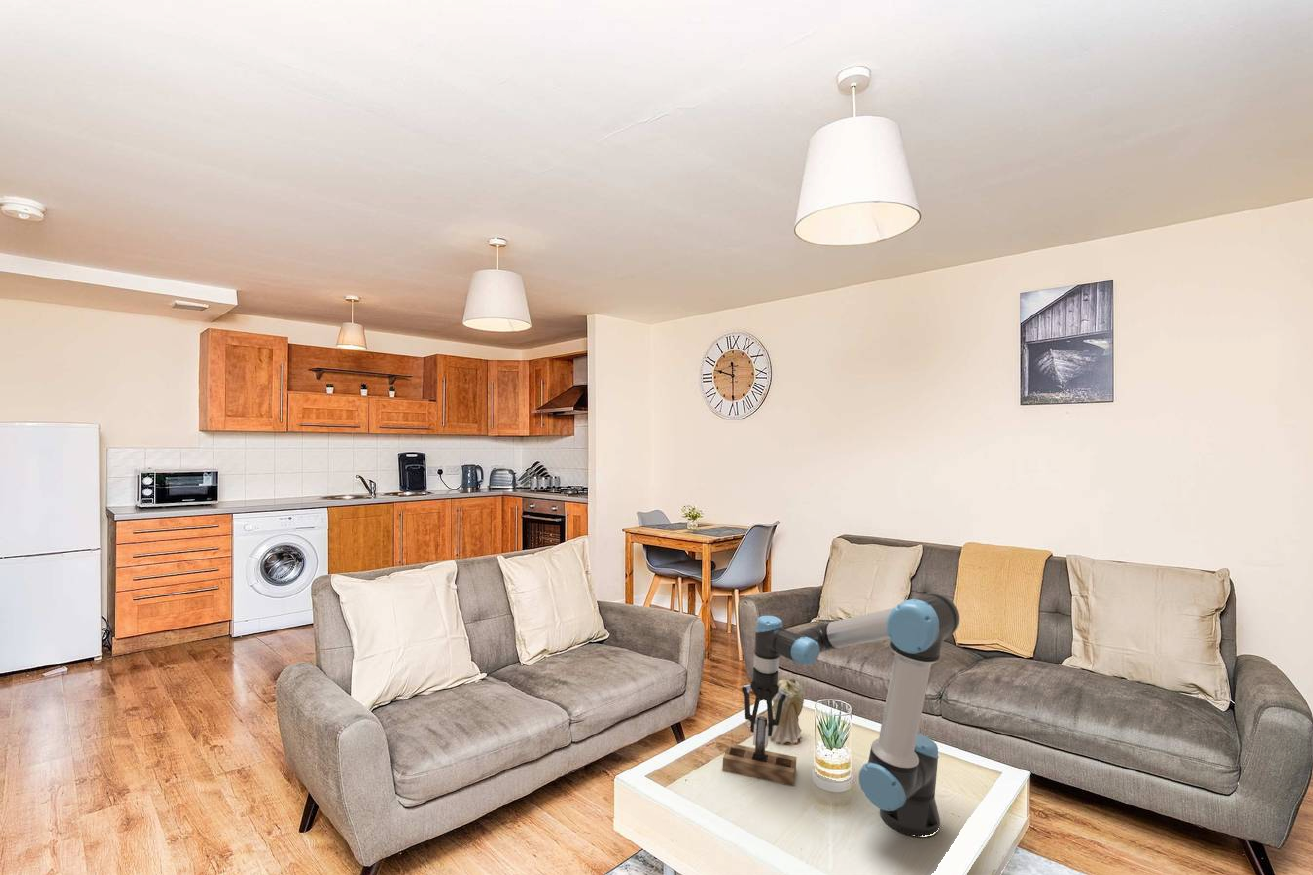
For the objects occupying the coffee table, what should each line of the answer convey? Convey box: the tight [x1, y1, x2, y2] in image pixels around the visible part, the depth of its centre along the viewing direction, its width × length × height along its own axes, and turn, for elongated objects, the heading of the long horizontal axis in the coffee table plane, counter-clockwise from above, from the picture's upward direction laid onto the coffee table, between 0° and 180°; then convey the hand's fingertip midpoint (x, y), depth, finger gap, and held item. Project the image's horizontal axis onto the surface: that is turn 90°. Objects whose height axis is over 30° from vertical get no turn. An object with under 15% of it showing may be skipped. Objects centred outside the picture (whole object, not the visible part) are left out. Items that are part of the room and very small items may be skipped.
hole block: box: [721, 742, 797, 787], centre depth 195 cm, size 21×9×4 cm, turn 73°
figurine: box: [769, 678, 805, 747], centre depth 215 cm, size 12×12×20 cm
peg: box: [754, 715, 768, 760], centre depth 195 cm, size 3×3×12 cm
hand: (760, 743), depth 195 cm, fingers closed on peg, 3 cm apart
